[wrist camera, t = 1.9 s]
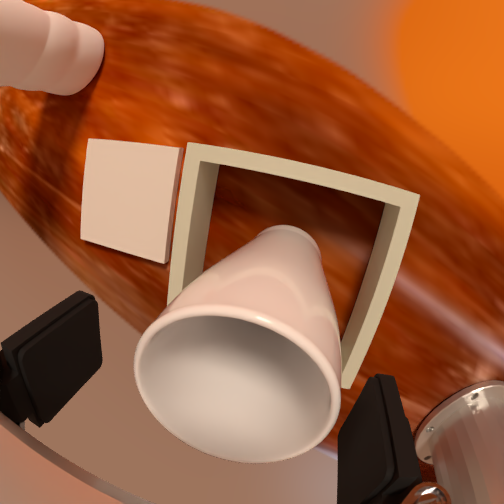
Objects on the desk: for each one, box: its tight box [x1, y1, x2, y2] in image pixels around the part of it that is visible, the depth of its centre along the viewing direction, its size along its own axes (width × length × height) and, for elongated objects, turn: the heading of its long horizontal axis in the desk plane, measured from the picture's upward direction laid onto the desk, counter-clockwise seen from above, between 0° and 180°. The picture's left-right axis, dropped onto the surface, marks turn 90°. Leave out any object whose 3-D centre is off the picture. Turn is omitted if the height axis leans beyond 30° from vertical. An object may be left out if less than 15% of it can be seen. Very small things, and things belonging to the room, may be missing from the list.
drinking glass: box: [134, 225, 342, 464], centre depth 16 cm, size 7×7×15 cm
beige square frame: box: [167, 142, 420, 389], centre depth 21 cm, size 14×14×4 cm
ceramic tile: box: [81, 139, 184, 264], centre depth 24 cm, size 9×9×1 cm
